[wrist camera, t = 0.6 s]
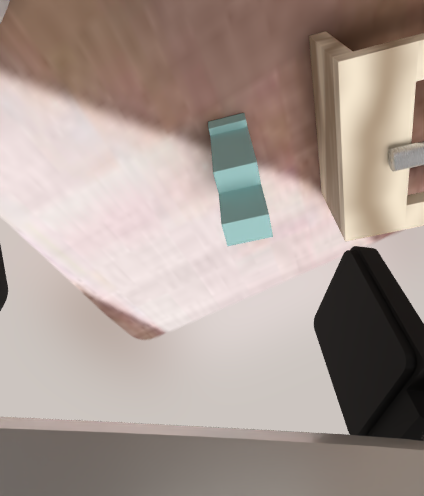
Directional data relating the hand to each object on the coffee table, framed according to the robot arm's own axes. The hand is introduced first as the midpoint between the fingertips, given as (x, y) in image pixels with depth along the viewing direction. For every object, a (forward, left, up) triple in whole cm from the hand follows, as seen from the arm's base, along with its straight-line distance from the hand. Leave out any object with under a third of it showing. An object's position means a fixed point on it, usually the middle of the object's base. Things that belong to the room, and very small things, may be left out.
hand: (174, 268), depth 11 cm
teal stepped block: (+9, +10, -34) cm, 37 cm away
